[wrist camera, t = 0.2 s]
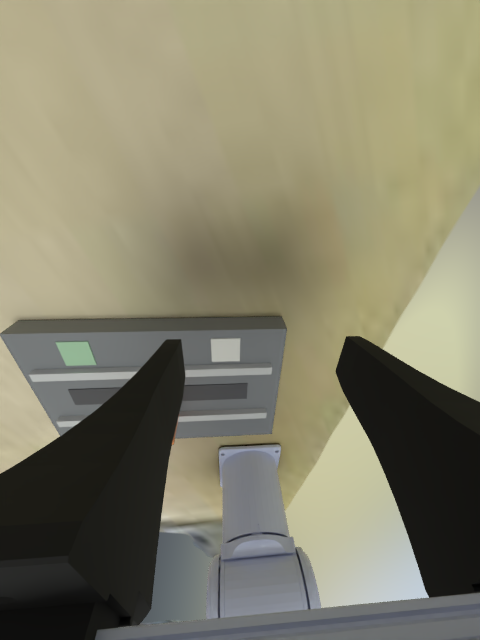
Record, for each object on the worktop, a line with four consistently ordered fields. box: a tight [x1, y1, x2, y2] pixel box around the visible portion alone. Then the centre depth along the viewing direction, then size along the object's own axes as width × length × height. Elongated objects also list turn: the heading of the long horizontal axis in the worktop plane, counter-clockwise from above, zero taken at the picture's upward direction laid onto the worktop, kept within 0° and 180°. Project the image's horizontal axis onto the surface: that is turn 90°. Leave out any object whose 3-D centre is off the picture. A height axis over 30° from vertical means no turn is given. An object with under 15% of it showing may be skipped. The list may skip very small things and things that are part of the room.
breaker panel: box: [0, 316, 287, 439], centre depth 23 cm, size 14×22×3 cm, turn 89°
